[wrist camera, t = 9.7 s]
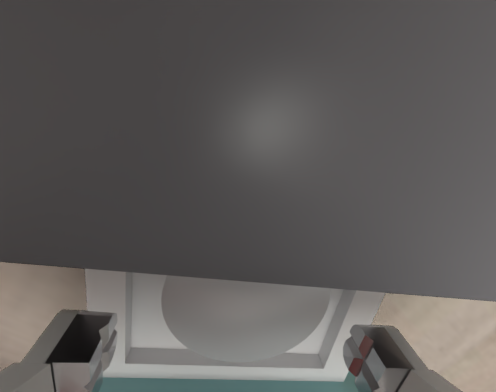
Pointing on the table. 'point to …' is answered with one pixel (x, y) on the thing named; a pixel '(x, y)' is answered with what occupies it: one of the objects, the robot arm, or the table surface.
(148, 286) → the tray
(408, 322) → the table surface
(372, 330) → the robot arm
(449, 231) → the grey drawer box
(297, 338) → the disc
